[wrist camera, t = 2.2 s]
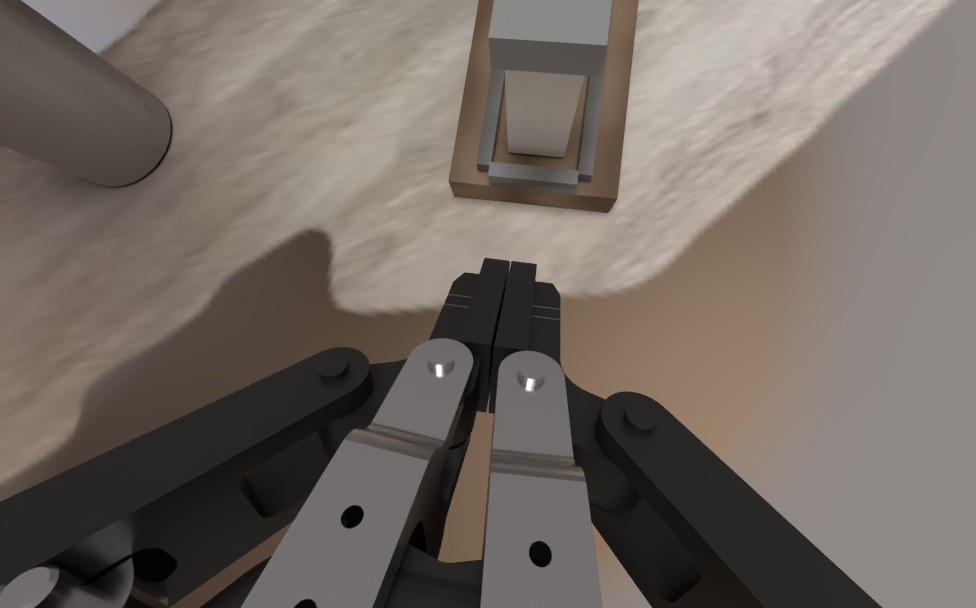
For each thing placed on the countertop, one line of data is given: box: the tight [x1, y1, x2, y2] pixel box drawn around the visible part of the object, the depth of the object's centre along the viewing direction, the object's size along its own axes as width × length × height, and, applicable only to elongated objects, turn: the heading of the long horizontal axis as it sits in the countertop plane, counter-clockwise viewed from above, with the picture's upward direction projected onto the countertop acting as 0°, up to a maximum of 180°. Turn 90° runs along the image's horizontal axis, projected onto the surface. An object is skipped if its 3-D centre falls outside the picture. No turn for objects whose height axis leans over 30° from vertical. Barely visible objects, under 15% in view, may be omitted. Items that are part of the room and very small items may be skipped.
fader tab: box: [488, 0, 612, 158], centre depth 21 cm, size 5×4×10 cm
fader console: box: [449, 0, 638, 213], centre depth 28 cm, size 12×24×4 cm, turn 172°
